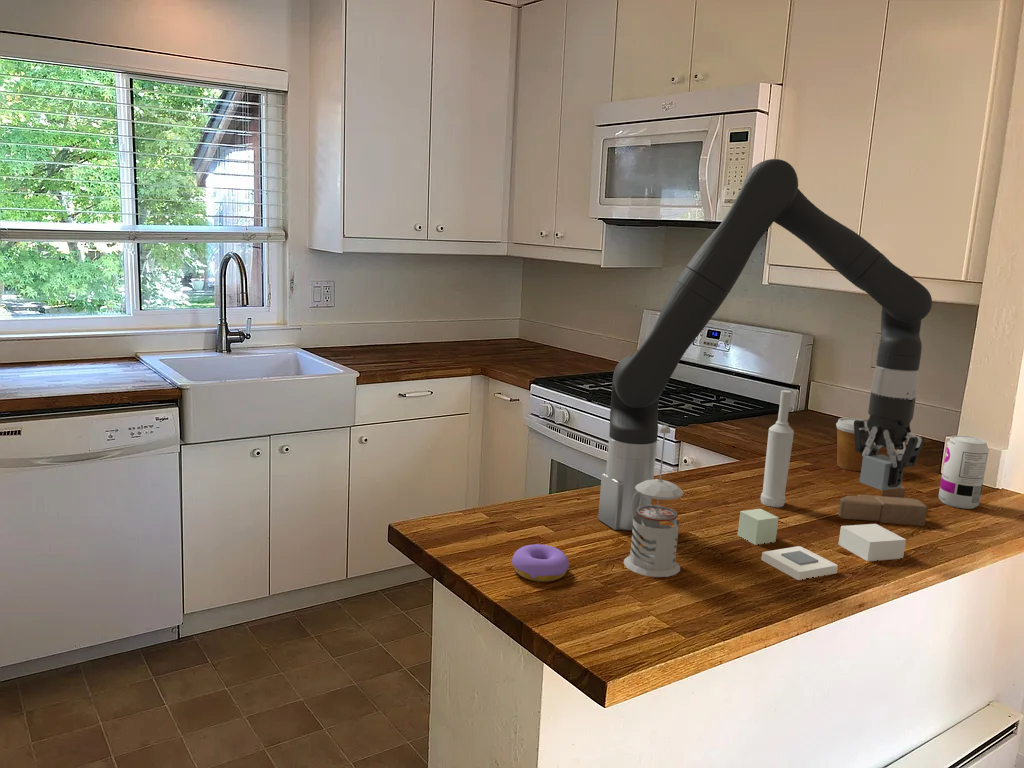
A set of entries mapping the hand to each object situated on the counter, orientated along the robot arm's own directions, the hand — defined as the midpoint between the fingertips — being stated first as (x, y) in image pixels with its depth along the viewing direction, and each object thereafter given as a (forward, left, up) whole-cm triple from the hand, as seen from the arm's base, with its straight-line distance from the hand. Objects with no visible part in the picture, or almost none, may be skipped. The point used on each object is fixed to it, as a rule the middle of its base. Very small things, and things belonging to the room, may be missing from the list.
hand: (880, 481), depth 153 cm
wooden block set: (+20, +18, -14) cm, 31 cm away
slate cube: (0, 0, -1) cm, 1 cm away
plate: (-19, -1, -14) cm, 24 cm away
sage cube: (-17, +12, -14) cm, 25 cm away
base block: (0, 0, -14) cm, 14 cm away
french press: (-44, +9, -14) cm, 47 cm away
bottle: (+1, +27, -14) cm, 30 cm away
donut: (-64, +12, -14) cm, 67 cm away
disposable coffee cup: (+42, +43, -14) cm, 62 cm away
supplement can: (+44, +14, -14) cm, 48 cm away
